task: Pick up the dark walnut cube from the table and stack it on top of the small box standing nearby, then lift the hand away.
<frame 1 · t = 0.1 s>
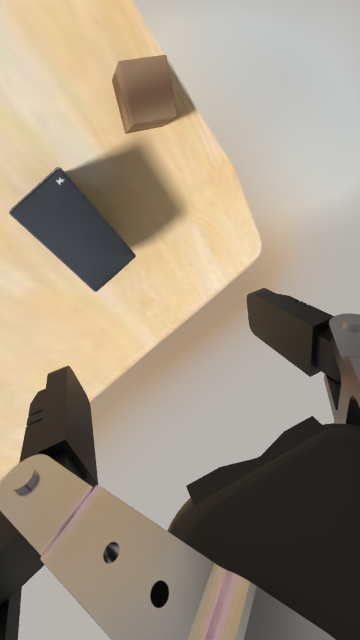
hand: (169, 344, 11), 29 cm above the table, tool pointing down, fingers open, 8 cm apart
small box: (76, 225, 34), on the table
walnut block: (138, 104, 31), on the table
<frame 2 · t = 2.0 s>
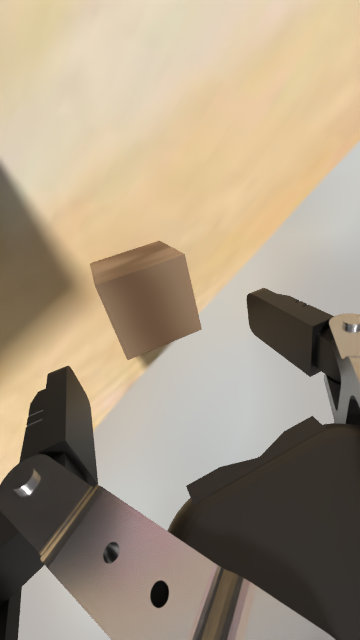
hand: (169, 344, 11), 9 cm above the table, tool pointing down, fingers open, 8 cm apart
walnut block: (136, 284, 19), on the table
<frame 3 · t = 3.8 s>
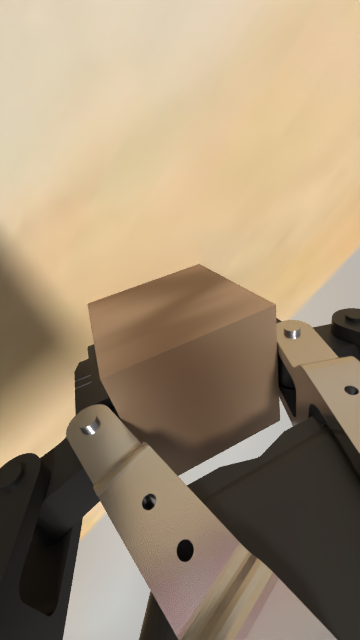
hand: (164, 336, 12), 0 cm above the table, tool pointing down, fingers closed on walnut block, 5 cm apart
walnut block: (161, 331, 12), on the table, touching gripper
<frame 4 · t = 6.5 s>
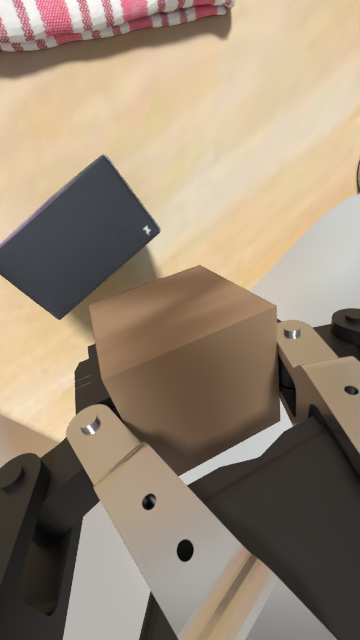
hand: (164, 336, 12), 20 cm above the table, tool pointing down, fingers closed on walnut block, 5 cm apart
small box: (79, 227, 27), on the table
walnut block: (162, 332, 12), point 19 cm above the table, touching gripper
when the fingers open (12 cm above the table, at t = 9.1 s): walnut block stays where it is, resting on small box.
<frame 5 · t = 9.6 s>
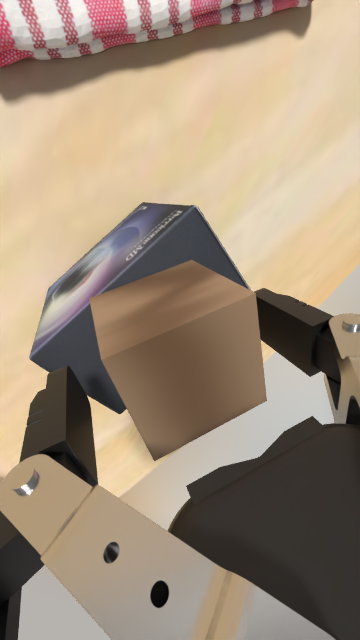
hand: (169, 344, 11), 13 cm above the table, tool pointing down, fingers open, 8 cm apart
small box: (120, 270, 22), on the table, touching walnut block
walnut block: (158, 323, 13), point 10 cm above the table, touching small box
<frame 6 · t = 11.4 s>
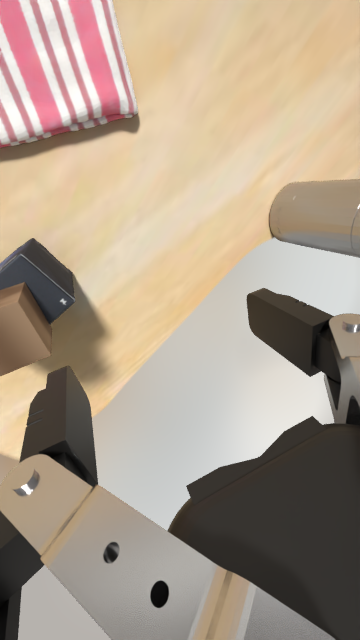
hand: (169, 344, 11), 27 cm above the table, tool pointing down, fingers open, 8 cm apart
small box: (21, 283, 32), on the table, touching walnut block
walnut block: (10, 316, 23), point 10 cm above the table, touching small box
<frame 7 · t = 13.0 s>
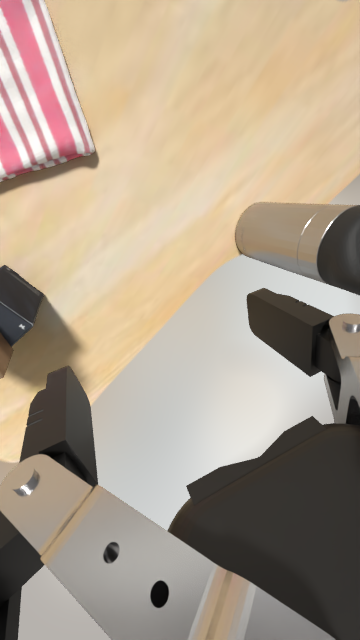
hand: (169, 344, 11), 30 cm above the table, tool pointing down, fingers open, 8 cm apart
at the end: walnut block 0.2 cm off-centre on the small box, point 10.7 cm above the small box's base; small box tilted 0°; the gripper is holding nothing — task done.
